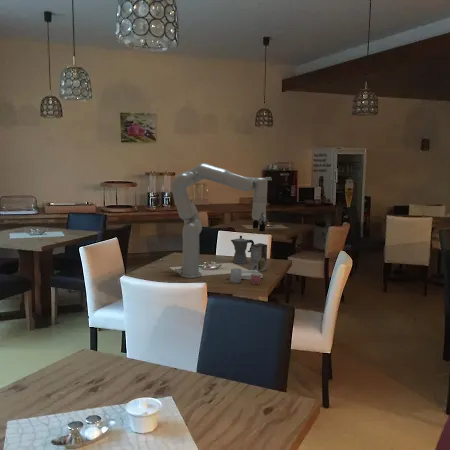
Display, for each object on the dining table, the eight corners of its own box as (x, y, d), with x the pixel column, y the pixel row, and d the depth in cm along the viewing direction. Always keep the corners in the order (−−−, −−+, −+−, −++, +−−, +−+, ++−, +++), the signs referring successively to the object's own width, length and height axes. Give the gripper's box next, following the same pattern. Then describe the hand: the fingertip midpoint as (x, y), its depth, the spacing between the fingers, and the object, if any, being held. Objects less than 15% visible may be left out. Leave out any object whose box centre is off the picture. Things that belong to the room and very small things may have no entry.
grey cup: (232, 283, 283) (232, 271, 282) (229, 280, 289) (229, 268, 288) (242, 283, 285) (242, 270, 284) (239, 280, 290) (239, 268, 289)
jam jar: (252, 285, 282) (253, 274, 281) (249, 282, 287) (250, 272, 286) (261, 284, 283) (262, 274, 282) (258, 282, 288) (258, 271, 287)
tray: (241, 279, 292) (241, 275, 291) (234, 274, 303) (235, 270, 303) (262, 278, 295) (262, 274, 295) (255, 273, 307) (255, 269, 306)
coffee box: (258, 268, 321) (259, 242, 319) (266, 269, 317) (267, 244, 315) (249, 270, 314) (250, 244, 312) (258, 272, 310) (259, 246, 308)
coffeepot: (228, 263, 331) (229, 236, 328) (230, 260, 340) (231, 233, 337) (252, 265, 329) (253, 237, 326) (253, 262, 338) (255, 235, 335)
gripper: (248, 198, 294) (247, 227, 296) (259, 201, 278) (258, 232, 280) (260, 198, 296) (259, 227, 299) (272, 201, 280) (270, 232, 283)
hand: (258, 229), depth 289 cm, fingers open, 9 cm apart
